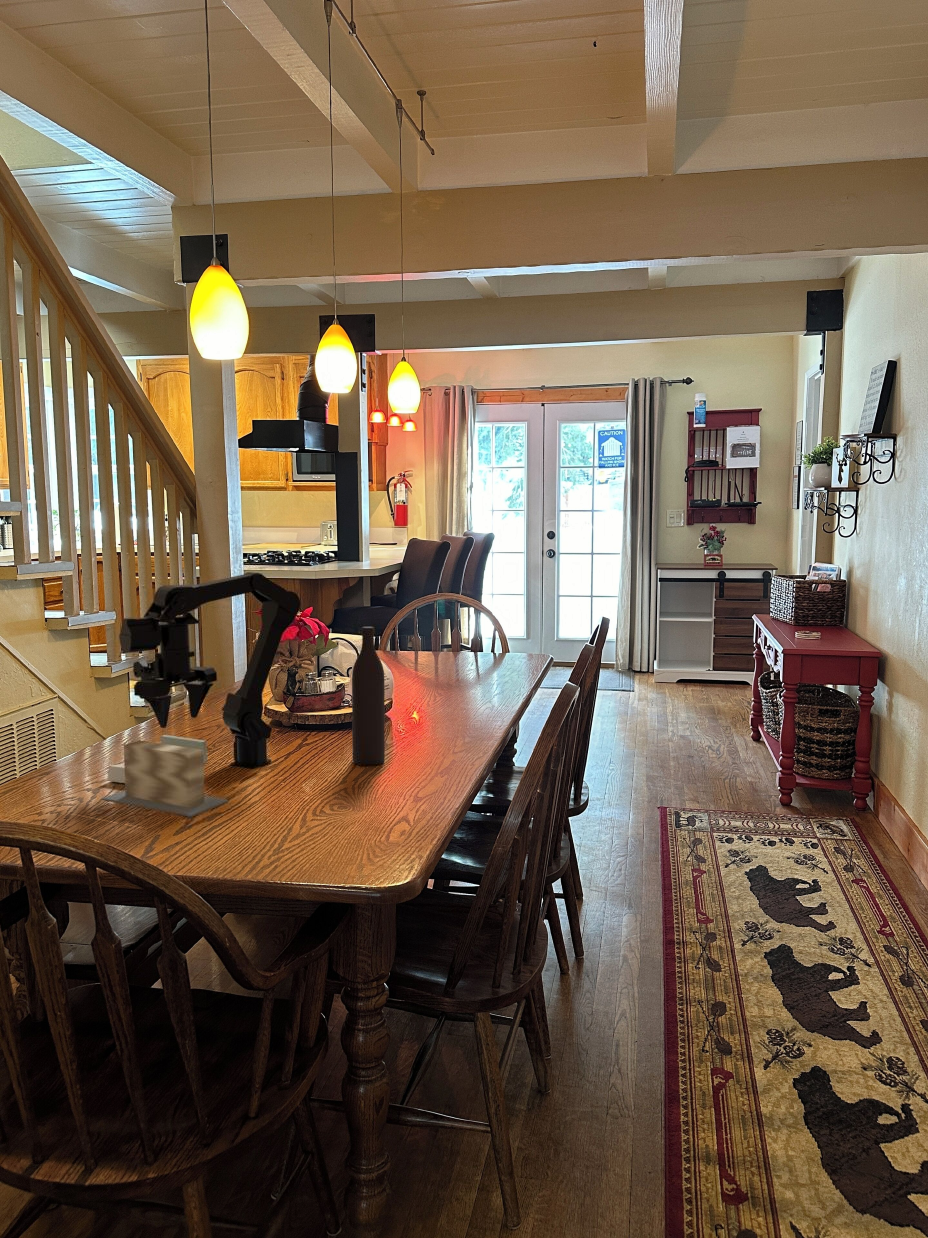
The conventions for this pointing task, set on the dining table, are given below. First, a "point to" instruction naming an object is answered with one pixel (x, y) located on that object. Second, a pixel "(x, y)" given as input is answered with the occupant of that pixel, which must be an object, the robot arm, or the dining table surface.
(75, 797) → the dining table surface
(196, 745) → the panel
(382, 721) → the wine bottle
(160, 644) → the robot arm
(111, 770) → the offcut lower
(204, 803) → the mat
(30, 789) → the dining table surface
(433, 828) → the dining table surface
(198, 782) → the beige brown block
